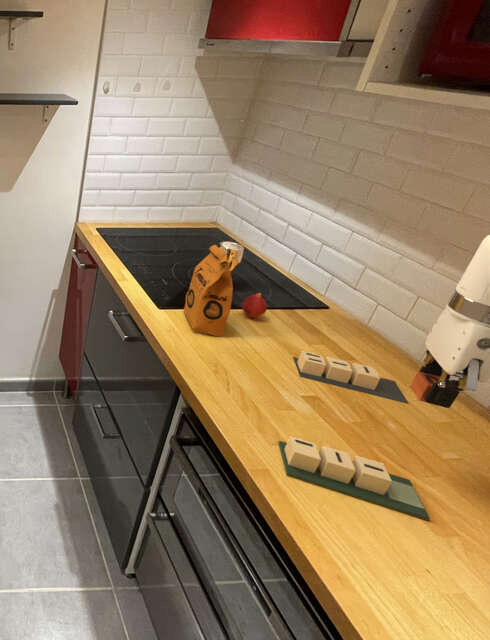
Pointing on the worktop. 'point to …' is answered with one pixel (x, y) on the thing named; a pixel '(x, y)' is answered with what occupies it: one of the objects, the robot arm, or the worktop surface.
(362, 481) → the word board
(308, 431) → the worktop surface
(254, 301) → the onion
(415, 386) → the orange cube
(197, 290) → the coffee package
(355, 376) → the word board
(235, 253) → the beer glass
